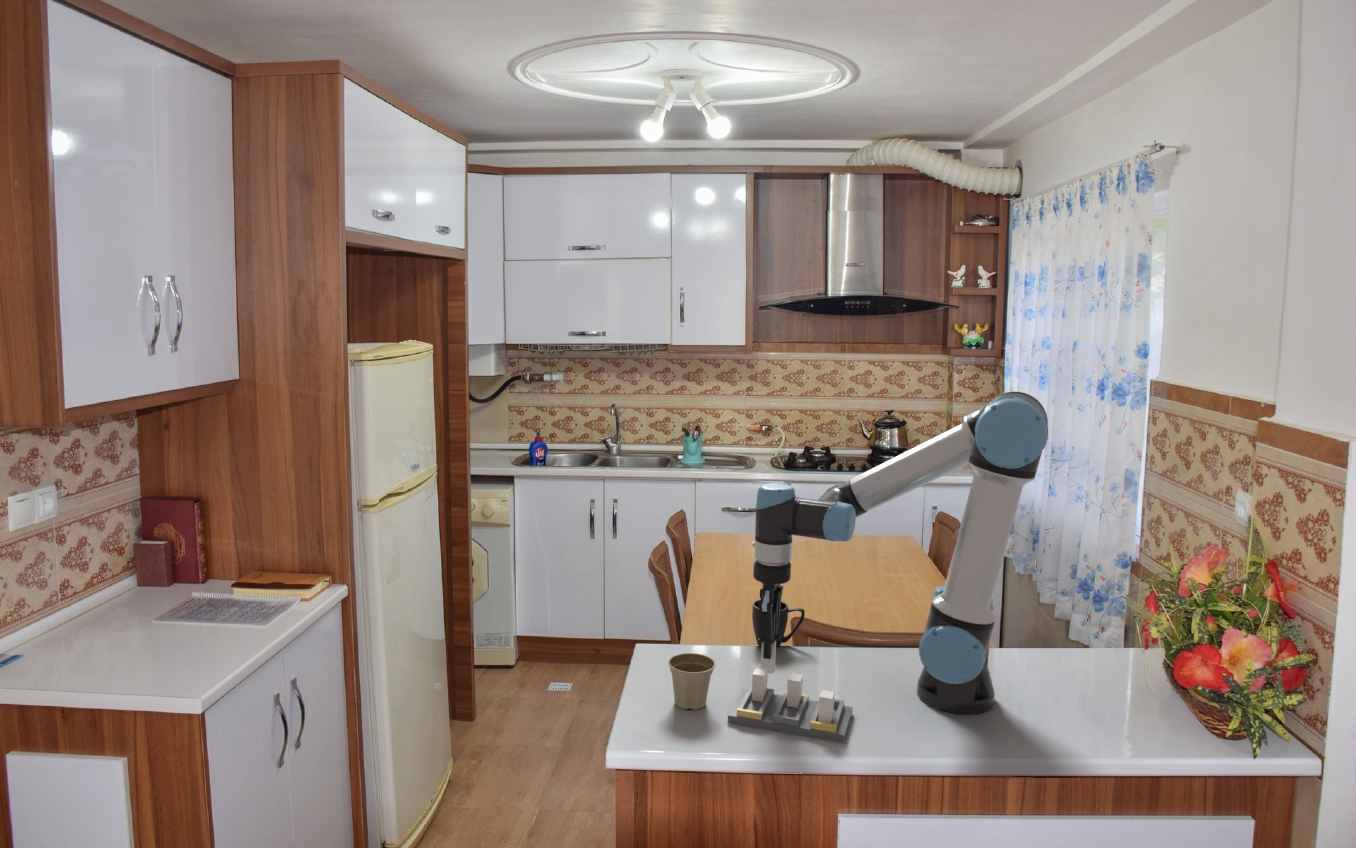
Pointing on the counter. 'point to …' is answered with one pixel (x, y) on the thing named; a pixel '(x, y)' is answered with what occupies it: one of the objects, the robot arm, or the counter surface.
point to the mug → (782, 622)
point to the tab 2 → (794, 690)
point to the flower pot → (691, 679)
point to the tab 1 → (759, 685)
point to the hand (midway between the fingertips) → (767, 670)
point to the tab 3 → (826, 707)
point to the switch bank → (790, 716)
